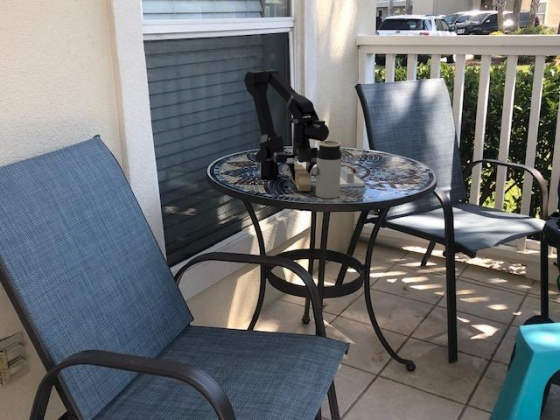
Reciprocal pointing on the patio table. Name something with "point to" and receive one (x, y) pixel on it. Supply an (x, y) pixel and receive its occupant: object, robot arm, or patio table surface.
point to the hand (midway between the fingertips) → (300, 180)
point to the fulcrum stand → (349, 178)
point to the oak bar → (301, 178)
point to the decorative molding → (313, 166)
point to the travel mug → (328, 169)
